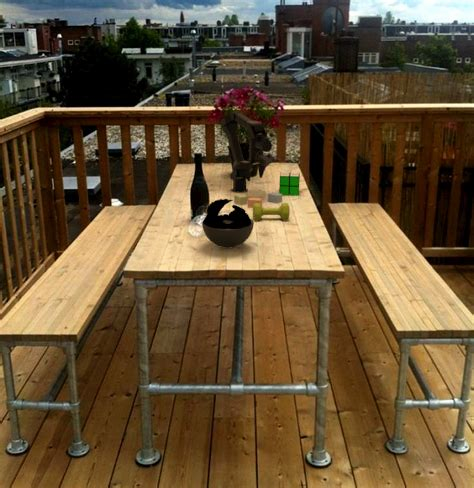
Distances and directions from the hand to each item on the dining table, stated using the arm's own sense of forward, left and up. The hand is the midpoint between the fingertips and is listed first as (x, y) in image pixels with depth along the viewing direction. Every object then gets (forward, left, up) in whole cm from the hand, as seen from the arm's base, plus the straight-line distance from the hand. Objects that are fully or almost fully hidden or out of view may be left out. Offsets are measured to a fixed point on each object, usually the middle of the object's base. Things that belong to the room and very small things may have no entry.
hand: (254, 179), depth 316 cm
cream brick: (0, 0, -9) cm, 9 cm away
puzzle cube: (+8, +18, -9) cm, 22 cm away
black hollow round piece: (+41, -64, -9) cm, 77 cm away
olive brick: (+3, -14, -9) cm, 17 cm away
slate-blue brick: (+13, 0, -9) cm, 16 cm away
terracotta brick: (+12, -14, -9) cm, 21 cm away
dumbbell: (+30, -24, -9) cm, 40 cm away
